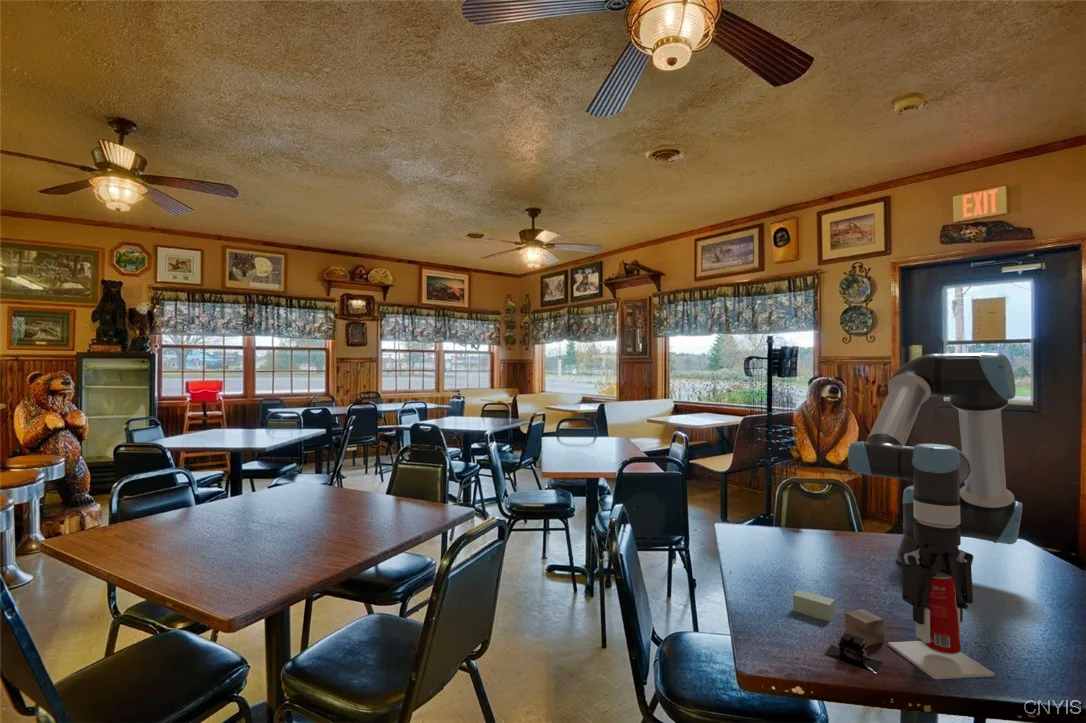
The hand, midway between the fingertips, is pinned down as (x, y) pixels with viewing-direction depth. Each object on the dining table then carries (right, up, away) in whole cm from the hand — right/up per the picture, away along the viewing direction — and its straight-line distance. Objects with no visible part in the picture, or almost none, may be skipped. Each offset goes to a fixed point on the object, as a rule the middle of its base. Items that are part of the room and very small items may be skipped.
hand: (938, 638), depth 104 cm
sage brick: (-15, -5, +20) cm, 25 cm away
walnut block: (-10, -5, +8) cm, 14 cm away
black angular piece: (-17, -5, +1) cm, 17 cm away
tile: (0, -4, 0) cm, 4 cm away
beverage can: (0, -2, 0) cm, 2 cm away
